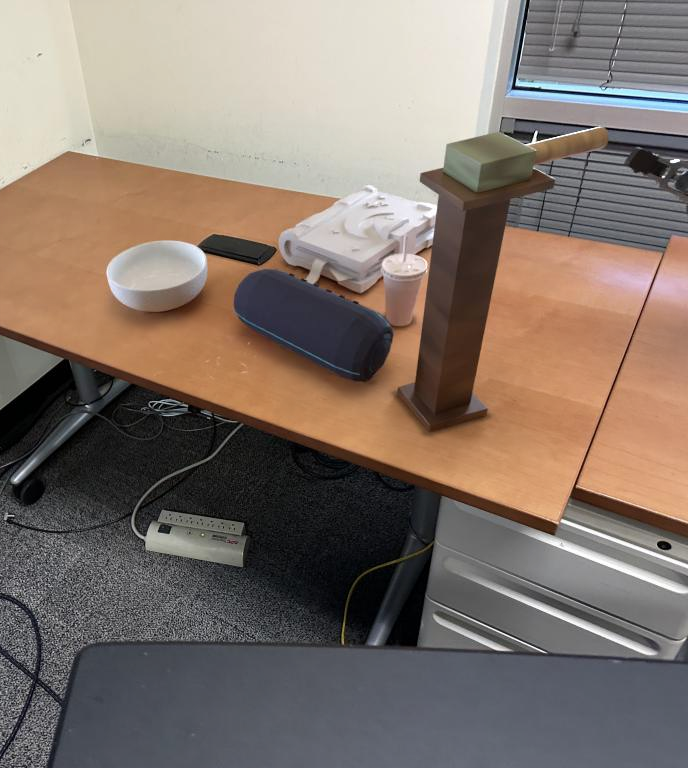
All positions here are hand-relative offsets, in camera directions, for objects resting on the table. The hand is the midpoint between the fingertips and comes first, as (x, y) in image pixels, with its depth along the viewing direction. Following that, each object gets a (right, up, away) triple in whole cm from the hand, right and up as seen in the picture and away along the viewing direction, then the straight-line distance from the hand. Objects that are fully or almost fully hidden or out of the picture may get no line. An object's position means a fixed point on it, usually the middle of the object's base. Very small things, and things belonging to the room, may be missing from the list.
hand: (661, 169), depth 76 cm
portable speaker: (-33, -19, +26) cm, 46 cm away
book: (-23, -2, +45) cm, 50 cm away
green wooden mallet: (-17, -1, -5) cm, 18 cm away
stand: (-18, -26, +14) cm, 35 cm away
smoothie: (-19, -14, +29) cm, 38 cm away
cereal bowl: (-56, -9, +42) cm, 71 cm away
